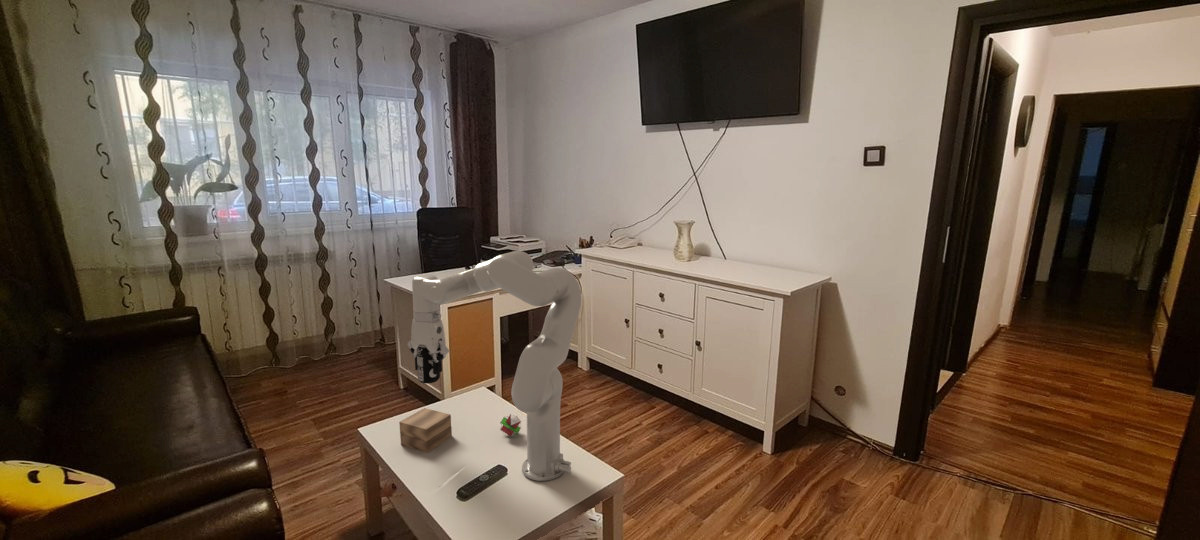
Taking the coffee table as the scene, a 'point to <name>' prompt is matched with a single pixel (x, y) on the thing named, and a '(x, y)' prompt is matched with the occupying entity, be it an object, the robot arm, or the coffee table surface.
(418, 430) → the walnut block upper
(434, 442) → the walnut block lower
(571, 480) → the coffee table surface
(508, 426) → the geometric puzzle
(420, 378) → the beverage can
